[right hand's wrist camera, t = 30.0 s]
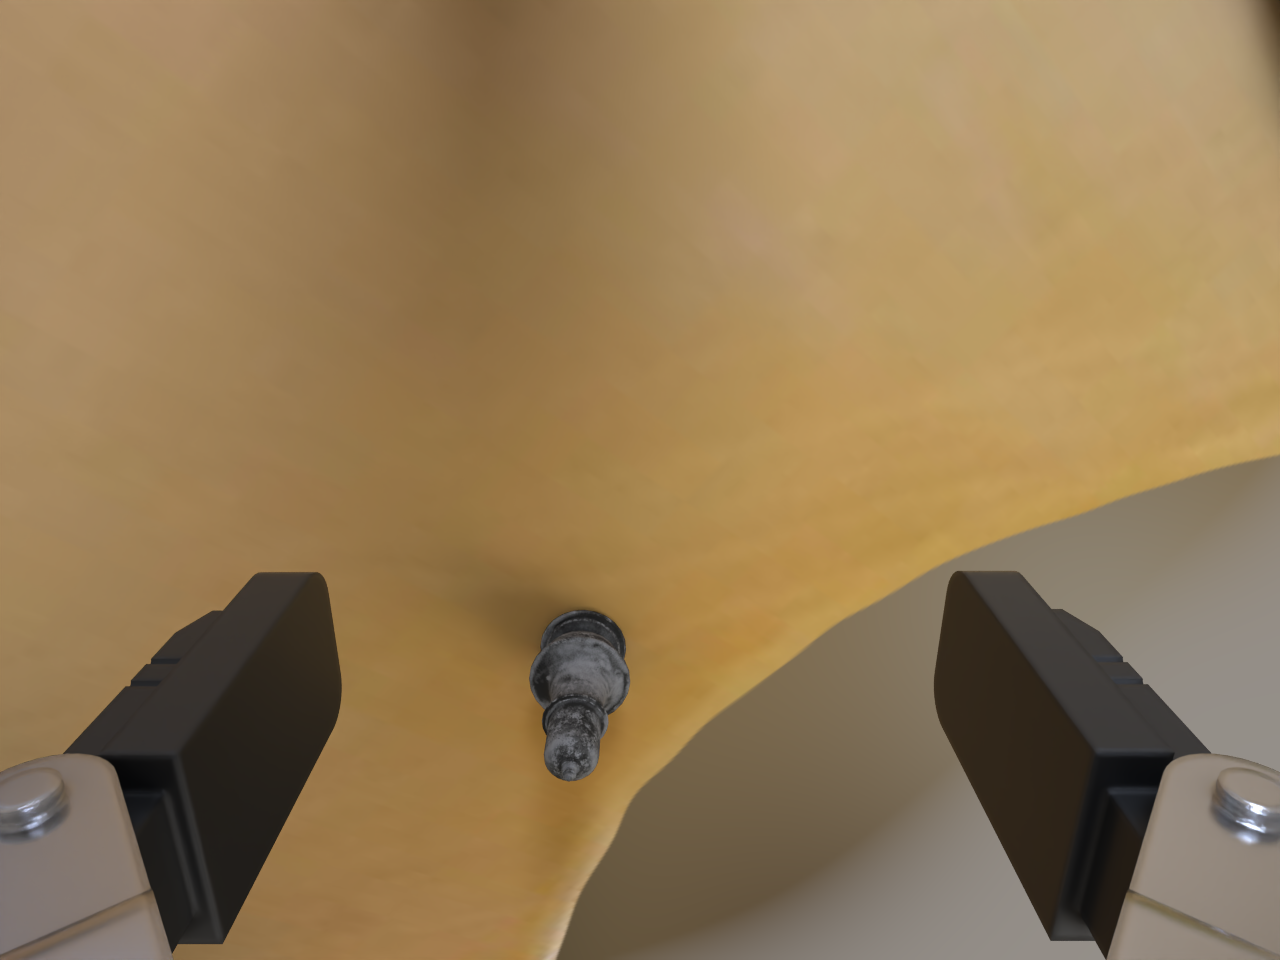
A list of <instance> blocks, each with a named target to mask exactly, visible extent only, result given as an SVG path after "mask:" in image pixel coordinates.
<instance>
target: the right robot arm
mask: <svg viewBox="0 0 1280 960" xmlns="http://www.w3.org/2000/svg"><path fill="white" fill-rule="evenodd" d="M341 690H342V684H341V673H340V666H339V659H338V653H337V646H336V639H335V633H334V626H333V619H332V613H331V606H330V599H329V593H328V588H327V584H326V582H325V579H324V577H323V576H322V575H321V574H320V573H318V572H260V573H257V574H255V575H254V576H253V577H252V578H251V579H250V580H249V581H248V583H247V584H246V585H245V586H244V587H243V588H242V589H241V591H240V592H239V593H238V594H237V595H236V596H235V597H234V599H233V600H232V601H231V602H230V603H229V604H228V606H227V607H226V608H225V609H224V610H223V611H211V612H210V613H208V614H206V615H205V616H203V617H201V618H200V619H198V620H196V621H194V622H193V623H191V624H189V625H188V626H186V627H184V628H183V629H181V630H179V631H178V632H176V633H175V634H174V635H173V636H172V637H171V638H170V639H169V640H168V641H167V642H166V643H165V645H164V646H163V647H162V648H161V649H160V650H159V651H158V652H157V653H156V654H155V655H154V656H153V657H152V659H151V664H146V665H145V666H144V667H143V668H142V669H141V670H140V671H139V673H138V674H137V675H136V676H135V677H134V678H133V679H132V680H131V685H130V686H126V687H125V688H124V689H123V690H122V691H121V692H120V693H119V694H118V695H117V696H116V697H115V698H114V699H113V701H112V702H111V703H110V704H109V705H108V706H107V707H106V708H105V709H104V710H103V711H102V712H101V713H100V715H99V716H98V717H97V718H96V719H95V720H94V721H93V722H92V723H91V724H90V725H89V726H88V727H87V729H86V730H85V731H84V732H83V733H82V734H81V735H80V736H79V737H78V738H77V739H76V740H75V741H74V743H73V744H72V745H71V746H70V747H69V748H68V749H67V750H66V751H65V752H64V753H63V754H60V755H52V756H48V757H43V758H38V759H35V760H31V761H28V762H25V763H22V764H19V765H16V766H14V767H11V768H9V769H6V770H4V771H2V772H0V960H173V956H172V953H173V951H174V949H175V948H176V946H177V944H223V942H224V940H225V938H226V936H227V934H228V932H229V931H230V929H231V927H232V925H233V923H234V921H235V919H236V917H237V915H238V913H239V911H240V909H241V907H242V905H243V903H244V901H245V899H246V897H247V896H248V894H249V892H250V890H251V888H252V886H253V884H254V882H255V880H256V878H257V876H258V874H259V872H260V870H261V868H262V866H263V864H264V862H265V861H266V859H267V857H268V855H269V853H270V851H271V849H272V847H273V845H274V843H275V841H276V839H277V837H278V835H279V833H280V831H281V829H282V827H283V826H284V824H285V822H286V820H287V818H288V816H289V814H290V812H291V810H292V808H293V806H294V804H295V802H296V800H297V798H298V796H299V794H300V792H301V791H302V789H303V787H304V785H305V783H306V781H307V779H308V777H309V775H310V773H311V771H312V769H313V767H314V765H315V763H316V761H317V759H318V758H319V756H320V754H321V752H322V750H323V748H324V746H325V744H326V742H327V740H328V738H329V736H330V734H331V732H332V730H333V728H334V726H335V724H336V721H337V718H338V714H339V709H340V703H341ZM934 697H935V705H936V710H937V714H938V718H939V721H940V723H941V726H942V728H943V730H944V732H945V734H946V736H947V738H948V740H949V742H950V744H951V745H952V747H953V749H954V751H955V753H956V755H957V757H958V759H959V761H960V763H961V765H962V767H963V769H964V771H965V773H966V775H967V777H968V779H969V781H970V783H971V785H972V787H973V789H974V791H975V793H976V795H977V797H978V799H979V801H980V802H981V805H982V807H983V808H984V810H985V812H986V814H987V816H988V818H989V820H990V822H991V824H992V826H993V828H994V830H995V832H996V834H997V836H998V838H999V840H1000V842H1001V844H1002V846H1003V848H1004V850H1005V852H1006V854H1007V856H1008V858H1009V860H1010V862H1011V864H1012V866H1013V867H1014V869H1015V871H1016V873H1017V875H1018V877H1019V879H1020V881H1021V883H1022V885H1023V887H1024V889H1025V891H1026V893H1027V895H1028V897H1029V899H1030V901H1031V903H1032V905H1033V907H1034V909H1035V911H1036V913H1037V915H1038V917H1039V919H1040V921H1041V923H1042V925H1043V927H1044V929H1045V930H1046V932H1047V934H1048V936H1049V938H1050V940H1051V941H1096V943H1097V945H1098V947H1099V948H1100V950H1101V952H1102V954H1103V955H1104V957H1105V959H1106V960H1280V772H1278V771H1276V770H1274V769H1271V768H1269V767H1266V766H1264V765H1261V764H1258V763H1255V762H1252V761H1249V760H1245V759H1242V758H1237V757H1232V756H1228V755H1220V754H1211V752H1210V751H1209V750H1208V749H1207V748H1206V747H1205V746H1204V745H1203V744H1202V743H1201V742H1200V740H1199V739H1198V738H1197V737H1196V736H1195V735H1194V734H1193V733H1192V732H1191V731H1190V730H1189V729H1188V727H1187V726H1186V725H1185V724H1184V723H1183V722H1182V721H1181V720H1180V719H1179V718H1178V717H1177V716H1176V714H1175V713H1174V712H1173V711H1172V710H1171V709H1170V708H1169V707H1168V706H1167V705H1166V704H1165V702H1164V701H1163V700H1162V699H1161V698H1160V697H1159V696H1158V695H1157V694H1156V693H1155V692H1154V690H1153V689H1152V688H1151V687H1150V686H1149V685H1148V684H1143V679H1142V677H1141V676H1140V675H1139V674H1138V673H1137V672H1136V671H1135V670H1134V669H1133V668H1132V667H1131V666H1130V664H1129V663H1128V662H1123V657H1122V656H1121V655H1120V654H1119V652H1118V651H1117V650H1116V649H1115V648H1114V647H1113V646H1112V645H1111V644H1110V643H1109V642H1108V641H1107V639H1106V638H1105V637H1104V636H1103V635H1102V634H1101V633H1100V632H1099V631H1098V630H1096V629H1094V628H1093V627H1091V626H1089V625H1088V624H1086V623H1084V622H1083V621H1081V620H1079V619H1078V618H1076V617H1074V616H1073V615H1071V614H1069V613H1068V612H1066V611H1064V610H1063V609H1051V608H1050V607H1049V606H1048V605H1047V604H1046V602H1045V601H1044V600H1043V599H1042V598H1041V597H1040V595H1039V594H1038V593H1037V592H1036V591H1035V590H1034V588H1033V587H1032V586H1031V585H1030V584H1029V583H1028V581H1027V580H1026V579H1025V578H1024V577H1023V576H1022V575H1021V574H1020V573H1019V572H1017V571H957V572H955V573H954V574H953V575H952V577H951V578H950V581H949V584H948V588H947V593H946V600H945V607H944V614H943V620H942V627H941V634H940V641H939V647H938V654H937V661H936V668H935V675H934Z"/></svg>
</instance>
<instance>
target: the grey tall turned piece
mask: <svg viewBox="0 0 1280 960" xmlns="http://www.w3.org/2000/svg"><path fill="white" fill-rule="evenodd" d="M625 652H626V645H625V639H624V636H623V634H622V631H621V630H620V629H619V627H618V626H617V625H616V624H615V622H613V621H612V620H611V619H609V618H608V617H606V616H604V615H602V614H600V613H597V612H593V611H587V610H580V611H572V612H568V613H565V614H562V615H561V616H559V617H557V618H556V619H554V620H553V621H552V622H551V623H550V624H549V625H548V626H547V628H546V630H545V632H544V634H543V636H542V641H541V652H540V653H539V654H538V655H537V656H536V658H535V660H534V662H533V664H532V666H531V671H530V677H529V680H530V687H531V691H532V693H533V695H534V697H535V699H536V700H537V702H538V703H539V704H540V705H541V706H542V707H543V708H544V709H545V711H544V713H543V718H542V725H543V729H544V731H545V733H546V735H547V738H546V744H545V751H544V759H545V764H546V767H547V769H548V770H549V771H550V772H551V773H552V774H553V775H554V776H556V777H557V778H559V779H562V780H566V781H576V780H579V779H582V778H584V777H586V776H588V775H589V774H590V773H591V772H592V771H593V770H594V769H595V767H596V765H597V763H598V759H599V749H600V739H601V738H602V737H603V736H604V734H605V732H606V731H607V727H608V715H609V714H611V713H612V712H614V711H615V710H616V709H617V708H618V707H619V706H620V705H621V704H622V703H623V701H624V699H625V698H626V696H627V694H628V690H629V685H630V676H629V670H628V667H627V665H626V663H625V660H624V657H625Z"/></svg>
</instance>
